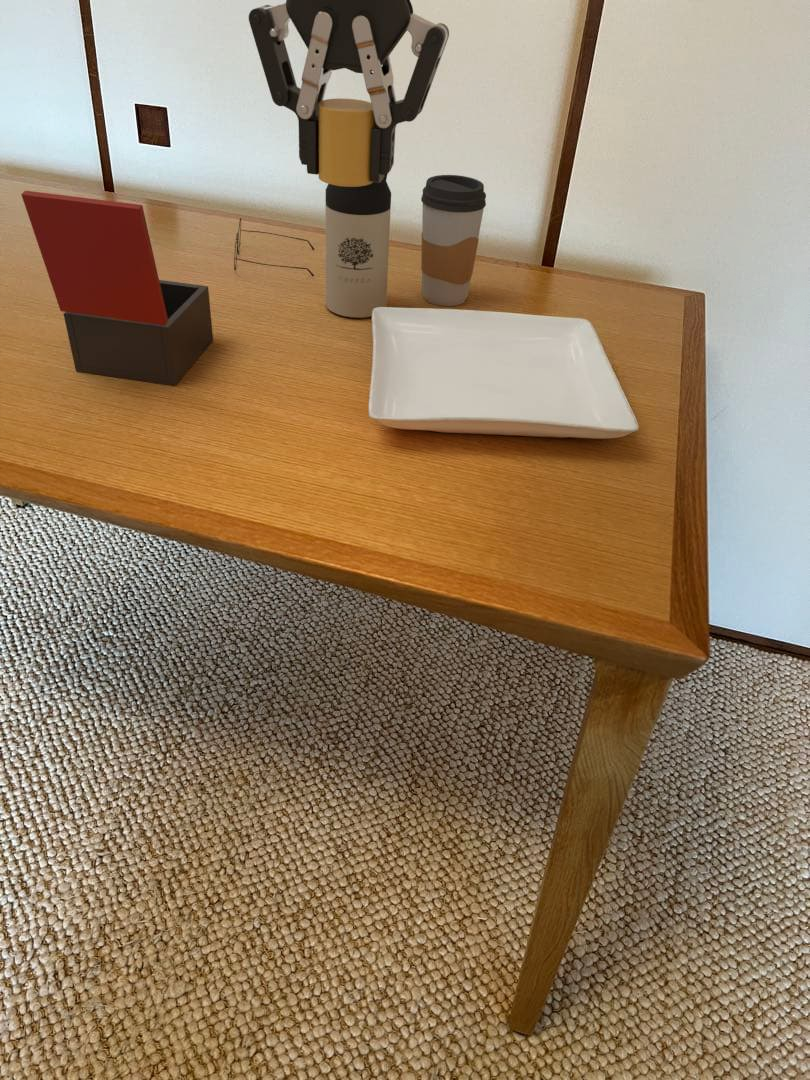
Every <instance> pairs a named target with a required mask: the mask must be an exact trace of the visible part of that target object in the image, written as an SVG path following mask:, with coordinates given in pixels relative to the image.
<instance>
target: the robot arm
mask: <svg viewBox="0 0 810 1080" xmlns="http://www.w3.org/2000/svg"><path fill="white" fill-rule="evenodd" d="M290 20H291V22H292V24H293V26H294V28H295V29H296V31H297V33H298V35H299V37H300V38H301V39H302V41H303V43H304V44H305V46H306V48H307V54H306V58H305V62H304V67H303V71H302V75H301V86H300V87H298V85H297V82H296V77H295V74H294V71H293V67H292V64H291V61H290V56H289V53H288V49H287V46H286V43H285V40H286V39H287V38H288V36H289V32H290V31H289V22H290ZM248 22H249V26H250V29H251V32H252V35H253V39H254V42H255V46H256V49H257V53H258V55H259V60H260V63H261V66H262V70H263V73H264V76H265V79H266V83H267V87H268V89H269V93H270V97H271V99H272V102H273V103H274V104H275V105H276V106H278V107H284V108H286V109H289V110H290V111H291V112H293V113H294V114H295V115H296V117H297V121H298V158H299V160H300V163H301V165H302V166H303V165H304V166H306V172H307V174H308V175H314V176H315V175H316V176H317V175H318V176H319V165H318V103H319V102H320V101H323V100H325V94H326V90H327V87H328V84H329V81H330V79H331V77H332V73H333V71H338V70H343V69H347V70H348V71H351V72H353V73H356V74H362V76H363V80H364V85H365V89H366V92H367V94H368V95H369V99H370V103H371V104H372V109H373V113H374V118H375V126H374V127H373V128H372V129H371V158H370V182H377V183H380V182H381V181H382V180H383V178H384V175H387V176H388V174H389V173H390V172H391V170H392V169H393V166H394V164H395V148H396V147H395V145H396V127H397V126H398V124H401V123H404V122H408V123H409V122H410V123H411V122H413V121H415V120H416V118H417V117H418V115H420V113H421V112H422V111H423V108H424V106H425V102H426V101H427V98H428V96H429V93H430V90H431V87H432V84H433V82H434V79H435V77H436V73H437V71H438V67H439V65H440V62H441V59H442V57H443V54H444V51H445V49H446V45H447V43H448V40H449V37H450V30H449V28H448V27H449V26H447V25H446V24H445V23H442V22H439V23H435V22H434V23H433V22H432V21H430V20H427V19H426V18H424V17H422V16H420V15H417V14H416V13H414V8H413V4H412V2H411V0H285V2H282V3H278V4H275V5H270V4H265V5H262V6H259V7H256V8H253V9H251V10H250V12H249V14H248ZM406 32H408V33H409V34H410V36H411V45H410V46H411V52H412V53H413V55H414V56H415V57H417V60H416V63H415V65H414V69H413V72H412V75H411V77H410V80H409V83H408V86H407V89H406V92H405V95H404V98H403V99H400V100H397V98H396V91H395V87H394V74H393V68H392V64H391V57H390V55H391V53H392V52H393V51H394V50H395V48H396V46H398V44H399V42H400V41H401V39H402V38H403V37H404V35H405V34H406Z"/></svg>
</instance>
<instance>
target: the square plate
mask: <svg viewBox="0 0 810 1080" xmlns="http://www.w3.org/2000/svg"><path fill="white" fill-rule="evenodd" d="M371 328H372V331H371V332H372V359H371V361H372V362H371V371H370V372H371V373H370V383H369V396H368V405H367V406H368V409H367V410H368V416H369V417H370V418H371V419H373V420H375V421H377V422H378V423H379V424H381V425H383V426H385V427H388V428H391V429H397V430H398V429H399V430H412V431H413V430H414V431H415V430H416V431H430V432H437V433H448V434H449V433H451V434H452V433H453V434H473V435H474V434H477V435H498V436H500V435H502V436H522V437H540V438H555V439H556V438H557V439H558V438H563V439H564V438H578V439H602V440H603V439H618V438H623V437H625V436H628V435H630V434H632V433H634V432H637V431H638V430H639V428H640V426H639V423H638V420H637V418H636V416H635V413H634V411H633V409H632V407H631V405H630V403H629V401H628V399H627V397H626V395H625V392H624V390H623V388H622V386H621V384H620V382H619V380H618V377H617V376H616V373H615V371H614V369H613V366H612V364H611V362H610V360H609V358H608V356H607V354H606V351H605V348H604V347H603V344H602V342H601V340H600V338H599V335H598V333H597V331H596V329H595V328H594V326H593V323H592V322H591V321H590V320H588V319H585V318H579V317H566V316H565V317H564V316H563V317H562V316H553V315H552V316H551V315H542V314H541V315H540V314H530V313H529V314H528V313H516V312H504V311H490V310H476V309H475V310H474V309H457V308H456V309H455V308H426V307H425V308H423V307H394V306H393V307H390V306H386V307H377V308H374V309H373V311H372V316H371Z"/></svg>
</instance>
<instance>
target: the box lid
mask: <svg viewBox="0 0 810 1080" xmlns="http://www.w3.org/2000/svg"><path fill="white" fill-rule="evenodd" d="M20 195H21V198H22V201H23V204H24V207H25V210H26V213H27V216H28V219H29V222H30V225H31V227H32V232H33V233H34V237H35V239H36V242H37V245H38V248H39V252H40V255H41V257H42V260H43V264H44V266H45V270H46V272H47V276H48V278H49V282H50V284H51V287H52V290H53V293H54V296H55V300H56V301H57V305H58V308H59V310H60V312H63V313H65V312H70V313H78V314H85V315H92V316H99V317H106V318H114V319H121V320H128V321H135V322H142V323H150V324H157V325H164V326H166V324H167V323H168V318H167V313H166V309H165V304H164V300H163V295H162V291H161V286H160V282H159V280H160V278H159V272H158V268H157V264H156V259H155V256H154V251H153V245H152V242H151V239H150V233H149V230H148V224H147V220H146V215H145V211H144V205H143V204H138V203H130V202H123V201H121V202H120V201H113V200H105V199H99V198H98V199H97V198H91V197H90V198H89V197H83V196H82V197H81V196H74V195H64V194H57V193H49V192H40V191H34V190H24V191H23V192H22V193H21V194H20Z"/></svg>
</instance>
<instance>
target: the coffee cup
mask: <svg viewBox="0 0 810 1080" xmlns="http://www.w3.org/2000/svg"><path fill="white" fill-rule="evenodd" d="M486 199H487V193H486V192H485V185H484V183H483V182H482V181H481V180H478V179H476V178H473V177H469V176H466V175H457V174H439V175H434V176H430V177H429V178H427V179H426V183H425V186H424V187H423V189H422V195H421V198H420V200H421V203H422V222H421V223H422V227H421V228H422V229H421V253H420V255H421V257H420V258H421V260H420V266H421V267H420V269H421V294H422V295H423V299H424V300H425V301H427V302H428V303H430V304H433V305H436V306H442V307H452V306H453V307H454V306H459V305H462V304H463V303H465V301H466V299H467V298H468V296H469V292H470V287H471V280H472V276H473V272H474V267H475V262H476V257H477V251H478V245H479V240H480V239H479V238H480V237H479V236H480V232H481V225H482V220H483V215H484V211H485V208H486V206H487V202H486Z"/></svg>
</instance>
